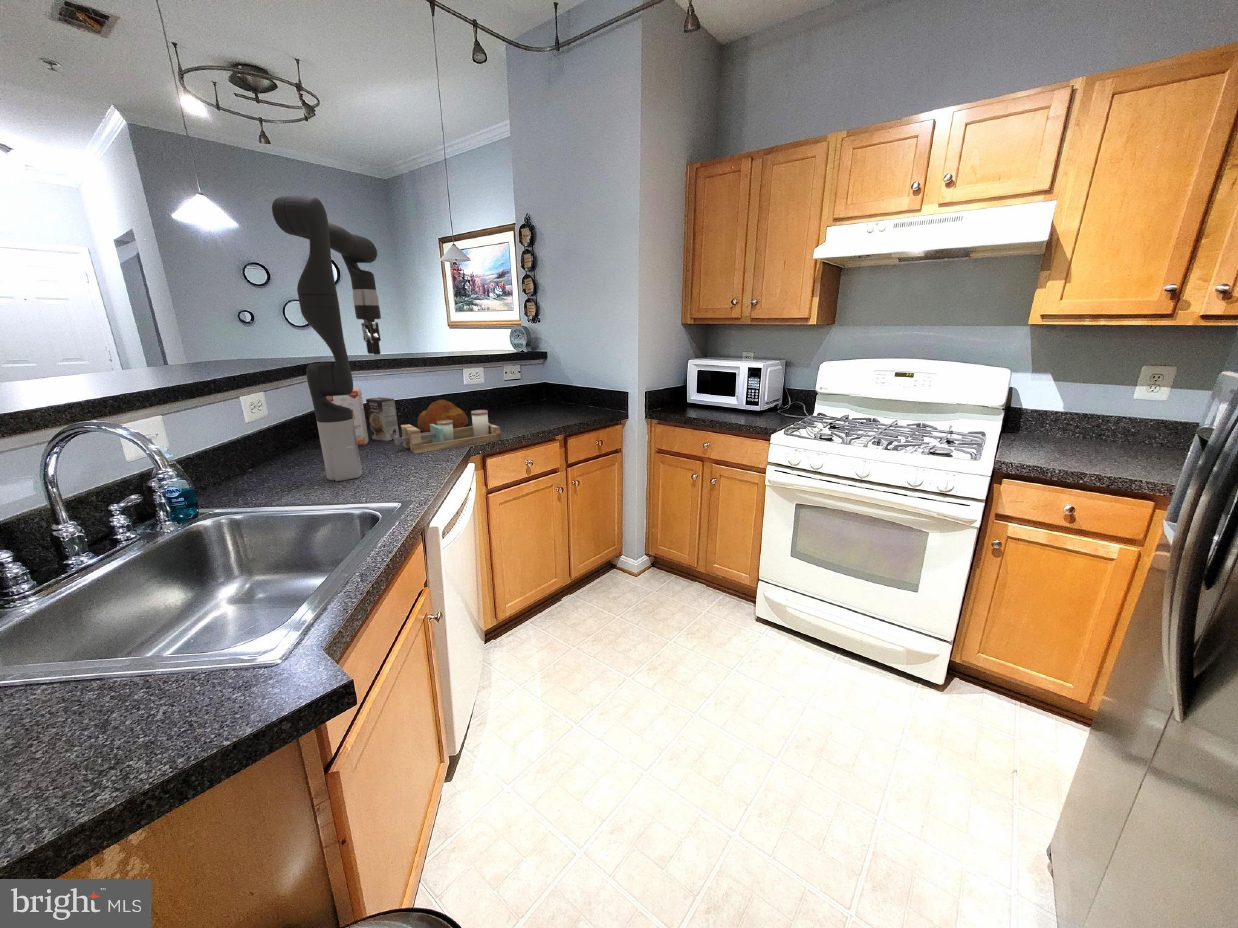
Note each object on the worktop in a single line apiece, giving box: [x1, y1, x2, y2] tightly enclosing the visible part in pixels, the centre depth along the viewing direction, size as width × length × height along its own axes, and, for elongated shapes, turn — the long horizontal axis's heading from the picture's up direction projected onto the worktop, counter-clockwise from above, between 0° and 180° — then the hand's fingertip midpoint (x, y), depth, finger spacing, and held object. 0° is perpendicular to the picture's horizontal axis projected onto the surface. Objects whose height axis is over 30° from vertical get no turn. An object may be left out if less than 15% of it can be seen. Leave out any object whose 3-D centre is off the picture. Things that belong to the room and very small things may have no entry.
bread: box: [417, 399, 469, 433], centre depth 211 cm, size 21×33×12 cm, turn 1°
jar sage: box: [437, 420, 455, 441], centre depth 181 cm, size 6×6×9 cm
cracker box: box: [326, 388, 370, 446], centre depth 181 cm, size 14×6×21 cm, turn 105°
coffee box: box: [365, 397, 400, 442], centre depth 191 cm, size 9×6×16 cm
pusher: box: [393, 424, 444, 446], centre depth 176 cm, size 11×15×7 cm
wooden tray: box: [400, 422, 502, 454], centre depth 183 cm, size 14×33×8 cm, turn 128°
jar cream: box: [470, 409, 489, 437], centre depth 189 cm, size 6×6×11 cm
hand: (374, 354), depth 165 cm, fingers open, 8 cm apart
